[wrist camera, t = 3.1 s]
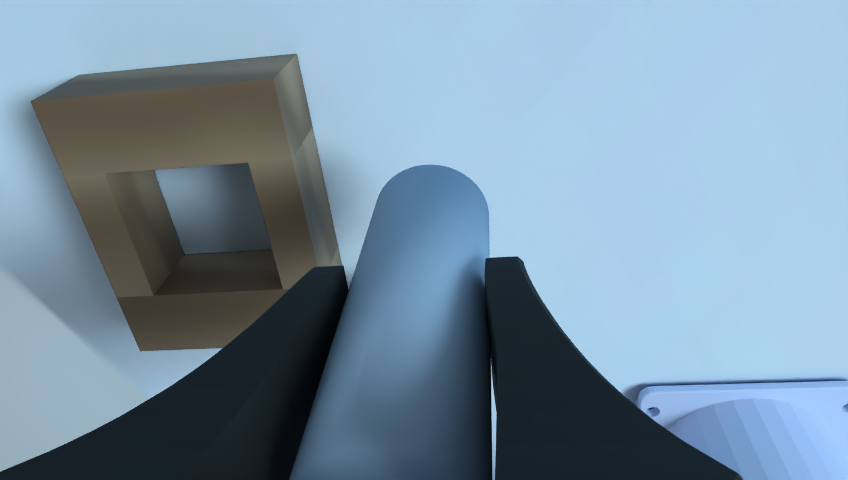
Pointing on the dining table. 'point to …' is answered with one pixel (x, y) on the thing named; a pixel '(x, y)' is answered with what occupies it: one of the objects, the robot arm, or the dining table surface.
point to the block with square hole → (190, 147)
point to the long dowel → (410, 343)
